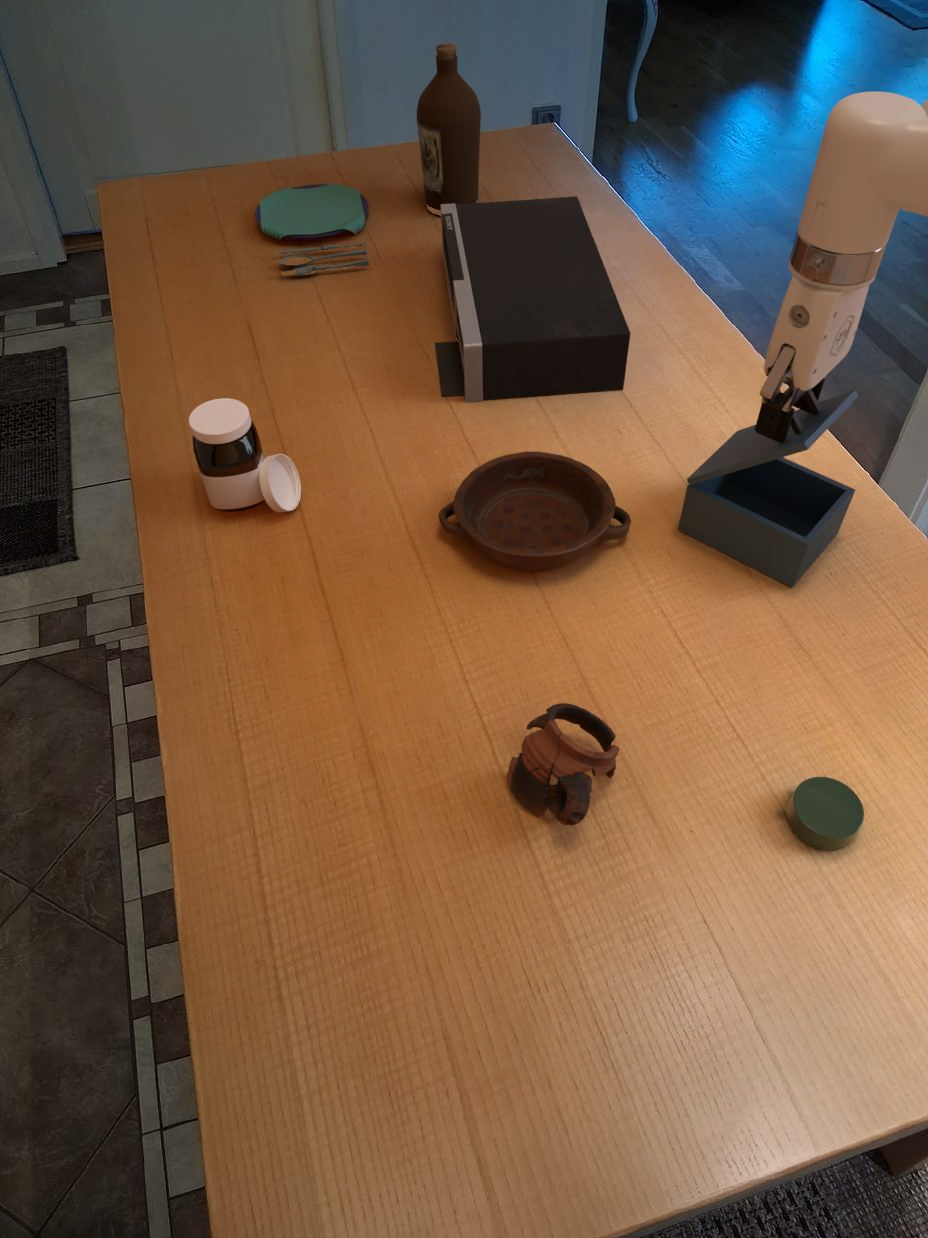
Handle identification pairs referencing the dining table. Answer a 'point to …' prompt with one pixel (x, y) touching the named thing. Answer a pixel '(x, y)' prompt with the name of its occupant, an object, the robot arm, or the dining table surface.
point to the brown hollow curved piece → (561, 764)
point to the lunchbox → (768, 516)
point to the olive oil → (449, 134)
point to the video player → (528, 303)
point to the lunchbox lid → (758, 449)
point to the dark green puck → (825, 813)
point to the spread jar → (239, 460)
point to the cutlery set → (314, 219)
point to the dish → (534, 510)
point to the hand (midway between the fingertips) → (784, 419)
